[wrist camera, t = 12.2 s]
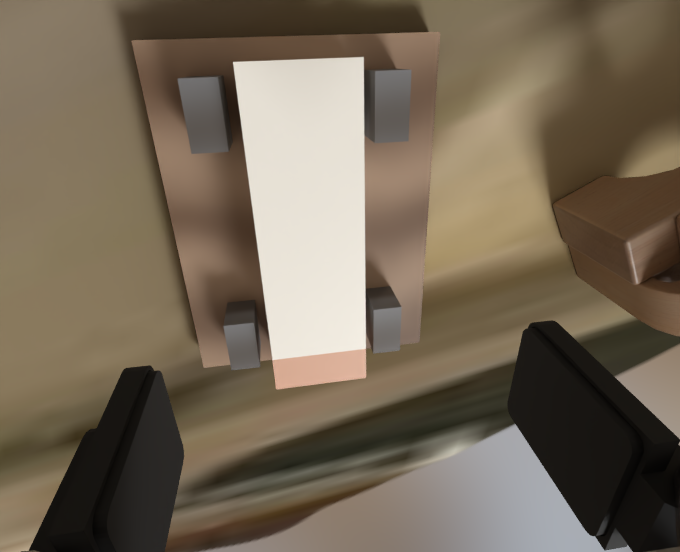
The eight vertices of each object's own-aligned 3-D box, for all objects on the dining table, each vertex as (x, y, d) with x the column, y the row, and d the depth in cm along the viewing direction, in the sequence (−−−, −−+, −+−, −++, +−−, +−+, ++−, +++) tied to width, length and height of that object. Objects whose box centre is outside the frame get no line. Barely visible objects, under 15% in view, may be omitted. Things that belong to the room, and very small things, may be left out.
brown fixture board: (140, 41, 20) (112, 37, 16) (429, 33, 22) (461, 28, 18) (207, 353, 28) (198, 395, 25) (412, 329, 30) (432, 366, 26)
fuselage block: (239, 61, 20) (233, 62, 16) (346, 57, 20) (363, 57, 17) (275, 346, 27) (276, 389, 23) (353, 336, 27) (366, 377, 24)
